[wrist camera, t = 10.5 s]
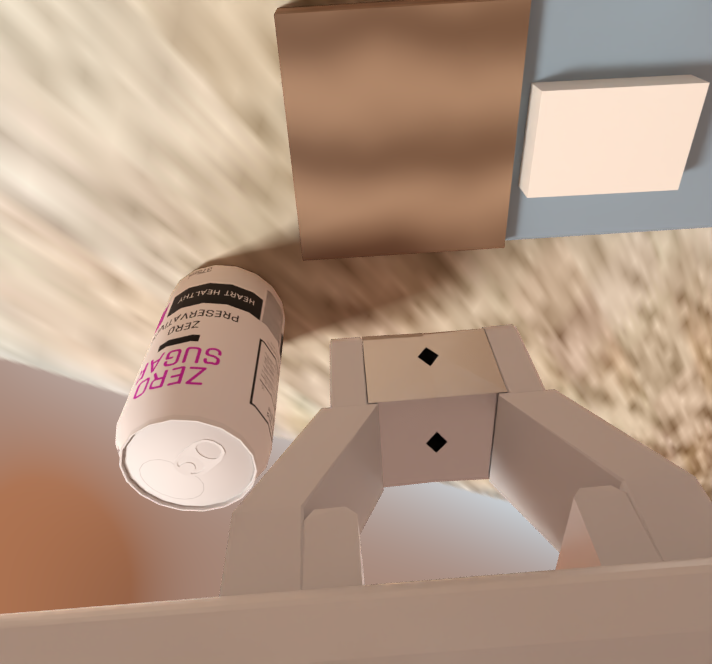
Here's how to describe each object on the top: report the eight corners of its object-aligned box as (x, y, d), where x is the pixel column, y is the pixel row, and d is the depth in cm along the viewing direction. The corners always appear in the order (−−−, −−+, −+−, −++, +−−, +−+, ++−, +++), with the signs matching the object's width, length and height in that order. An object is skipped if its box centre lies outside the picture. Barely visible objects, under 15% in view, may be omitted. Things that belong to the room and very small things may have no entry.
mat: (518, -7, 31) (526, -4, 30) (813, -26, 31) (833, -23, 30) (495, 230, 39) (500, 240, 38) (729, 215, 39) (742, 225, 38)
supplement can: (237, 371, 46) (204, 536, 33) (148, 309, 42) (74, 470, 30) (308, 309, 43) (301, 467, 30) (218, 237, 39) (169, 383, 27)
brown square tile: (277, 8, 31) (273, 14, 29) (518, -7, 31) (531, -2, 29) (303, 242, 39) (302, 260, 37) (495, 230, 39) (504, 247, 37)
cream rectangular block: (531, 82, 33) (542, 91, 31) (690, 74, 33) (709, 82, 31) (518, 185, 36) (527, 198, 34) (662, 177, 36) (677, 189, 34)
